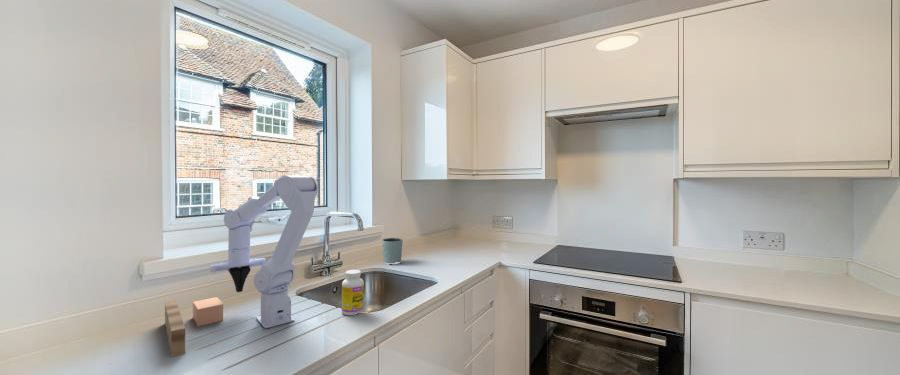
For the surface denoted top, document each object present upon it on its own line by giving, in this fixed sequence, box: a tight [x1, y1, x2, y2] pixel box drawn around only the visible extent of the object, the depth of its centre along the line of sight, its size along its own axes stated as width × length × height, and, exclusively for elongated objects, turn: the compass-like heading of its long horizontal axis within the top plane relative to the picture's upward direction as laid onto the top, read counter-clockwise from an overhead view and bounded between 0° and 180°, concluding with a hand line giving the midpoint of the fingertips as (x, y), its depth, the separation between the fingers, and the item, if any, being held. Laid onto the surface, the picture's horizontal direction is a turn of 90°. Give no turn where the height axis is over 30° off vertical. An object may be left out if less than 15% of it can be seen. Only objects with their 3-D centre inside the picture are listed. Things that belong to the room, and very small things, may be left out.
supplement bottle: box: [341, 269, 365, 316], centre depth 105 cm, size 7×7×13 cm
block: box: [192, 296, 224, 327], centre depth 99 cm, size 8×6×5 cm
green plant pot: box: [381, 237, 404, 263], centre depth 168 cm, size 10×10×12 cm
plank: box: [164, 300, 186, 358], centre depth 87 cm, size 24×2×6 cm, turn 43°
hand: (239, 291), depth 104 cm, fingers closed
